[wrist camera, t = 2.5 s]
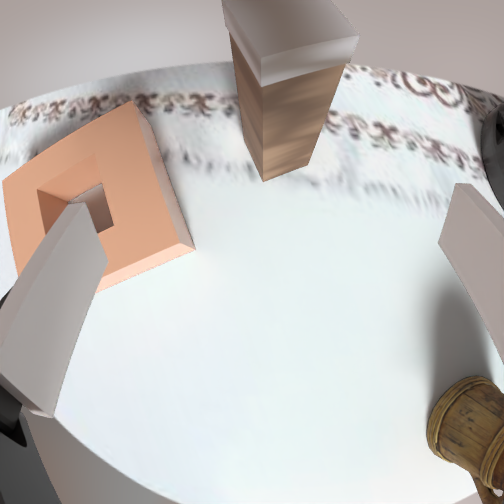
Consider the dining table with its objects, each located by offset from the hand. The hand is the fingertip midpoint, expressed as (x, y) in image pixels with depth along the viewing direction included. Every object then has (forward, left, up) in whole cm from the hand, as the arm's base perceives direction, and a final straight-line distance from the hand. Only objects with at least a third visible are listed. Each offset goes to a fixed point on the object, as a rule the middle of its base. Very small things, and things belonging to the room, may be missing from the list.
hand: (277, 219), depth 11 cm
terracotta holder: (+12, -9, -15) cm, 21 cm away
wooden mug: (-11, +24, -15) cm, 31 cm away
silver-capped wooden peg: (-4, -8, -15) cm, 17 cm away
